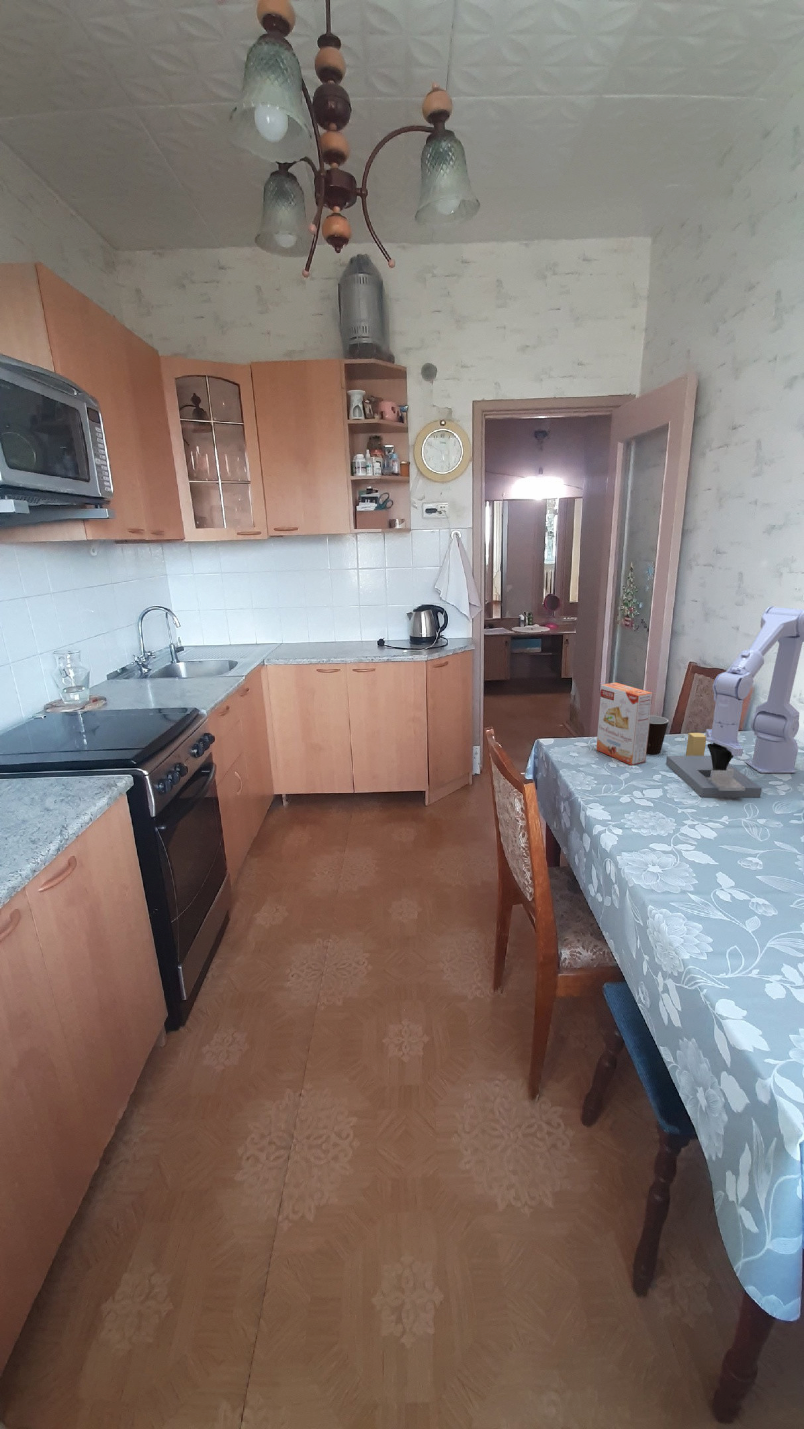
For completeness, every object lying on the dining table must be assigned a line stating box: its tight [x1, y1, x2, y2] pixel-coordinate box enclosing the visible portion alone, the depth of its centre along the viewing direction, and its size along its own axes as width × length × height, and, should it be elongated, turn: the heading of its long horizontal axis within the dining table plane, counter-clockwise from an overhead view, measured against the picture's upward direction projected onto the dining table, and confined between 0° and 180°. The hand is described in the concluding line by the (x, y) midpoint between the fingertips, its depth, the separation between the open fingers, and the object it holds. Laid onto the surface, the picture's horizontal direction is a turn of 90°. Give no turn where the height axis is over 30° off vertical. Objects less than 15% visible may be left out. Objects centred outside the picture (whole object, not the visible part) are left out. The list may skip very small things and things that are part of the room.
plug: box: [685, 732, 707, 756], centre depth 164 cm, size 4×4×7 cm
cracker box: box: [595, 681, 654, 766], centre depth 164 cm, size 14×6×21 cm, turn 25°
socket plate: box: [665, 755, 763, 798], centre depth 149 cm, size 14×22×2 cm, turn 177°
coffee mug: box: [646, 714, 669, 756], centre depth 170 cm, size 12×9×10 cm
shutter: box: [708, 769, 745, 791], centre depth 139 cm, size 6×6×3 cm
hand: (718, 772), depth 143 cm, fingers closed
